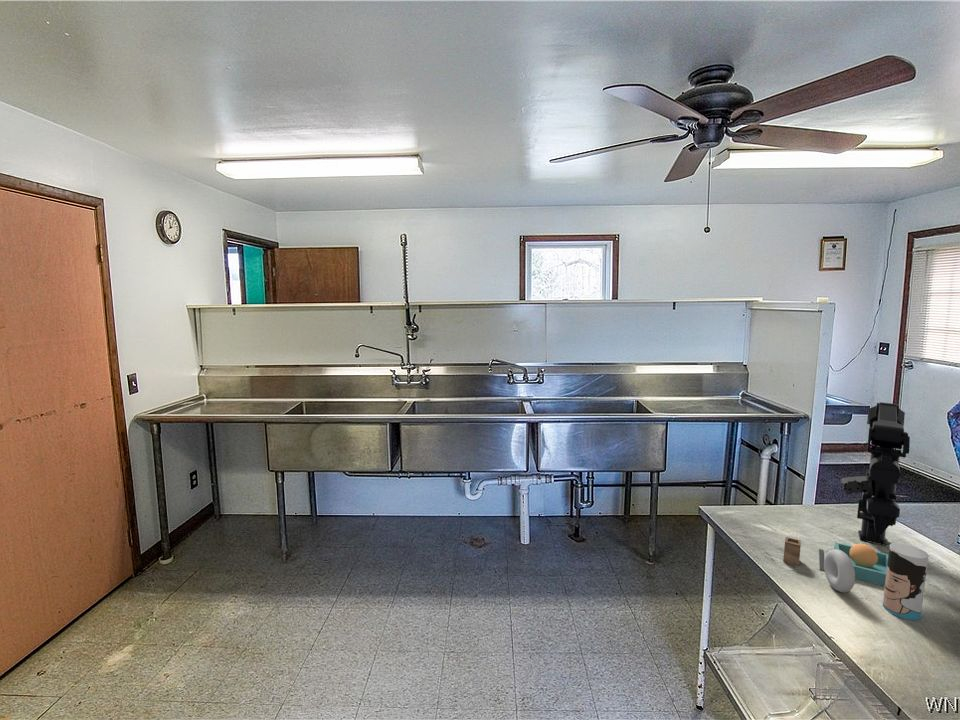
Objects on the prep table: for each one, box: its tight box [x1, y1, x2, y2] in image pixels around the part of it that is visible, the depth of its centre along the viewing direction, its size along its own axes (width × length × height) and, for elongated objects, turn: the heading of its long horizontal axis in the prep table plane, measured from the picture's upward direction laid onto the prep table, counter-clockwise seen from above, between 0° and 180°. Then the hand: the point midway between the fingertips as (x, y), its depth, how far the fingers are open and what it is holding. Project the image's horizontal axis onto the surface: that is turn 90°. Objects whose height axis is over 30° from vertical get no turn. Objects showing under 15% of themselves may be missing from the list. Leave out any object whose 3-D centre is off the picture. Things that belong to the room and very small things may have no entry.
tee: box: [782, 536, 802, 567], centre depth 133 cm, size 4×4×6 cm
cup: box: [882, 542, 930, 621], centre depth 111 cm, size 7×7×15 cm
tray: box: [833, 541, 889, 587], centre depth 129 cm, size 13×12×3 cm
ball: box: [849, 543, 878, 567], centre depth 129 cm, size 6×6×6 cm
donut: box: [824, 548, 856, 593], centre depth 119 cm, size 10×4×10 cm, turn 168°
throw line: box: [818, 548, 825, 572], centre depth 134 cm, size 13×1×1 cm, turn 145°
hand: (876, 527), depth 128 cm, fingers open, 9 cm apart
